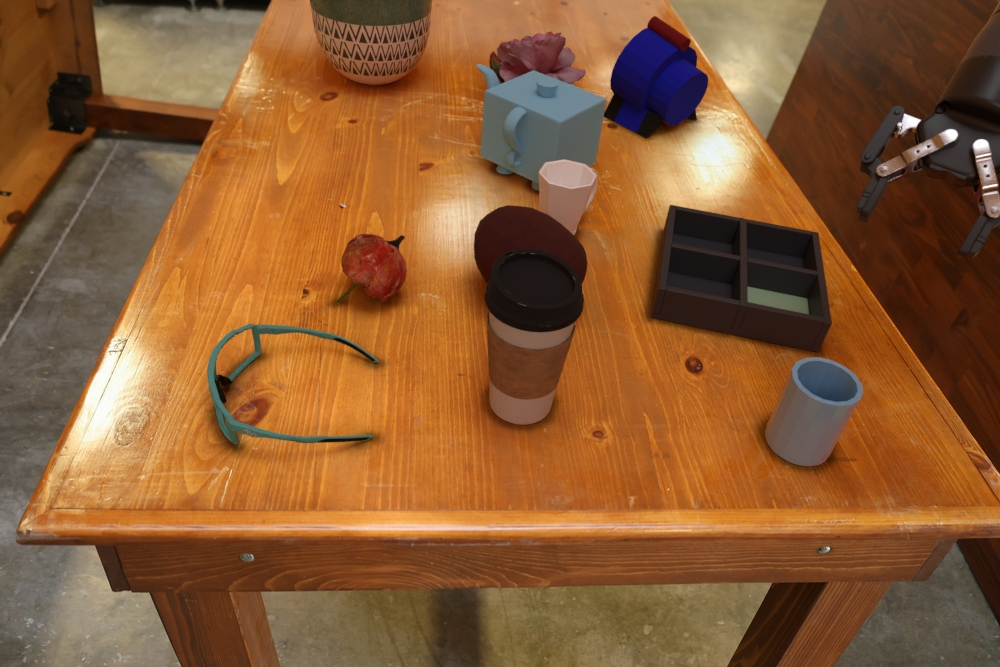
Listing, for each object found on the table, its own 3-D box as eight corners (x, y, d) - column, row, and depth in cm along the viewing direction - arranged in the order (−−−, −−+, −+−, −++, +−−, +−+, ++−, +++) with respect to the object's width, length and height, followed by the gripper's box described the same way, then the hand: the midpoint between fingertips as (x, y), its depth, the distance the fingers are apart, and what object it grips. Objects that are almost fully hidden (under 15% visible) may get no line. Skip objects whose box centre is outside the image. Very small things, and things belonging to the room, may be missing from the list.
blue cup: (827, 426, 74) (858, 365, 69) (832, 473, 70) (867, 412, 64) (763, 412, 75) (790, 351, 70) (765, 457, 70) (794, 396, 65)
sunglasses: (225, 346, 76) (223, 307, 72) (378, 359, 78) (382, 321, 75) (192, 457, 65) (188, 416, 62) (371, 468, 68) (375, 429, 64)
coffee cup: (524, 360, 78) (541, 235, 68) (582, 409, 73) (609, 283, 63) (458, 394, 73) (465, 266, 64) (515, 449, 69) (533, 320, 59)
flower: (603, 80, 126) (594, 18, 121) (544, 115, 119) (531, 51, 113) (538, 76, 136) (526, 18, 131) (479, 108, 129) (464, 48, 123)
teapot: (603, 167, 110) (620, 79, 101) (537, 207, 100) (549, 114, 92) (506, 124, 118) (513, 39, 109) (436, 158, 108) (438, 67, 100)
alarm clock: (648, 97, 130) (668, 5, 120) (707, 125, 123) (733, 30, 113) (599, 113, 123) (616, 18, 113) (658, 144, 117) (681, 45, 107)
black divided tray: (807, 260, 96) (818, 232, 93) (818, 352, 82) (832, 323, 80) (662, 232, 98) (669, 204, 95) (650, 317, 85) (658, 288, 82)
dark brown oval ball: (545, 348, 79) (558, 266, 73) (446, 294, 85) (450, 214, 78) (600, 299, 86) (617, 220, 80) (506, 252, 92) (514, 175, 85)
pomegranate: (365, 337, 82) (436, 277, 81) (317, 297, 77) (392, 233, 76) (351, 301, 87) (418, 244, 86) (306, 262, 83) (376, 201, 82)
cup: (519, 229, 96) (526, 171, 91) (568, 201, 102) (577, 145, 97) (563, 253, 93) (573, 194, 87) (611, 223, 99) (623, 166, 93)
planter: (410, 51, 137) (410, -83, 123) (450, 96, 124) (456, -48, 110) (300, 60, 130) (287, -80, 116) (331, 109, 117) (321, -42, 103)
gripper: (926, 31, 68) (833, 192, 68) (1108, 82, 61) (1004, 259, 62) (917, 74, 74) (832, 220, 75) (1079, 124, 68) (986, 283, 69)
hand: (910, 238), depth 68 cm, fingers open, 8 cm apart
